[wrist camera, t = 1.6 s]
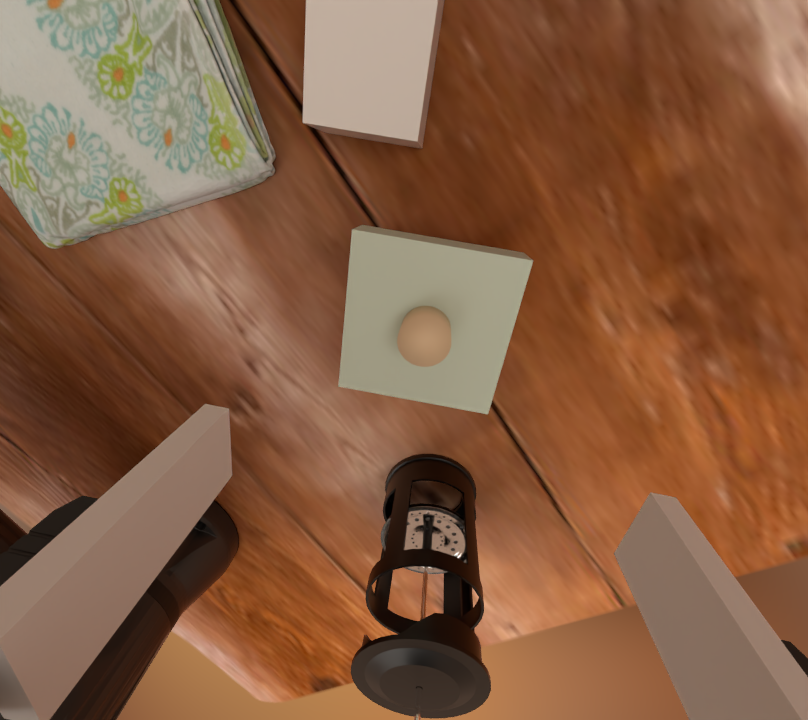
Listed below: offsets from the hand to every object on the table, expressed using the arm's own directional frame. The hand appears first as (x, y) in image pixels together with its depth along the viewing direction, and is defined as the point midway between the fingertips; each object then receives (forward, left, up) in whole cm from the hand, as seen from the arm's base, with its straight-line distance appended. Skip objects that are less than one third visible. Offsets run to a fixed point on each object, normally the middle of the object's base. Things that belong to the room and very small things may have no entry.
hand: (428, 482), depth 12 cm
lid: (-1, +1, -15) cm, 15 cm away
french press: (+3, -20, -21) cm, 29 cm away
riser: (-7, +17, -21) cm, 28 cm away
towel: (-26, +12, -22) cm, 36 cm away
